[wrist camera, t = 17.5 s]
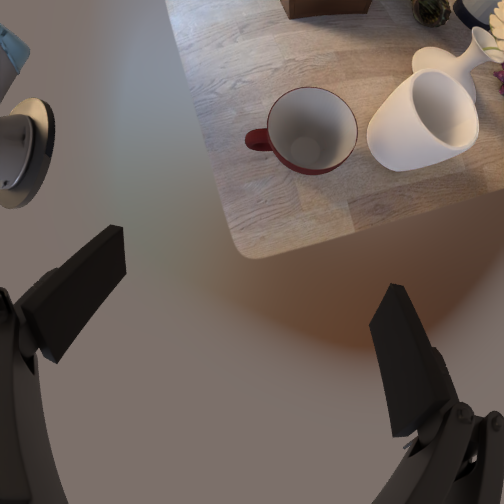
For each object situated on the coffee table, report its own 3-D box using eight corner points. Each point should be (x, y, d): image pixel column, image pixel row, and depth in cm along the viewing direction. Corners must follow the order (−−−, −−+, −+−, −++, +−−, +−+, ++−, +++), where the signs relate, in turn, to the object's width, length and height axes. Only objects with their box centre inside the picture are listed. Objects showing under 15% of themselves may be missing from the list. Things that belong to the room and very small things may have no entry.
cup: (358, 109, 30) (396, 55, 16) (416, 117, 29) (471, 77, 15) (363, 172, 31) (411, 148, 17) (421, 178, 30) (487, 163, 16)
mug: (256, 190, 33) (244, 180, 23) (247, 127, 32) (232, 96, 22) (343, 180, 32) (366, 166, 22) (331, 117, 31) (347, 84, 21)
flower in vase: (402, 44, 27) (472, -61, 3) (461, 64, 26) (548, -5, 2) (413, 119, 29) (536, 33, 5) (475, 136, 28) (596, 95, 3)
